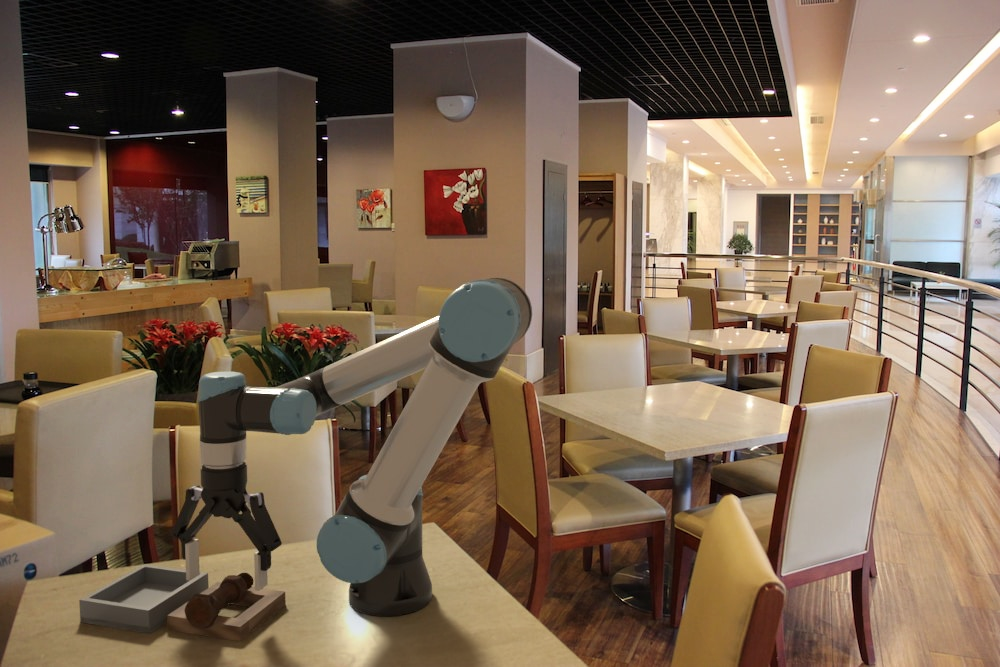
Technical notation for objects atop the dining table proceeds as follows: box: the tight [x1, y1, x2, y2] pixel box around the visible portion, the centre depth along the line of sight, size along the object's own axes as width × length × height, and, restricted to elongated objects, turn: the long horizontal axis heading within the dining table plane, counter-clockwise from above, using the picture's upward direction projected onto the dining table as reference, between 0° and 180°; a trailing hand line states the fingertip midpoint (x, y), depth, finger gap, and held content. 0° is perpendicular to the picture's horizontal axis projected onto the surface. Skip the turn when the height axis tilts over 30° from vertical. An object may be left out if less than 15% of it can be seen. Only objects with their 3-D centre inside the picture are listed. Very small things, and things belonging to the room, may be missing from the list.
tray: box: [78, 563, 210, 634], centre depth 144 cm, size 14×16×4 cm
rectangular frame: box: [166, 581, 287, 642], centre depth 141 cm, size 14×14×2 cm
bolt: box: [184, 572, 255, 628], centre depth 139 cm, size 6×5×15 cm
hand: (226, 582), depth 141 cm, fingers open, 13 cm apart
